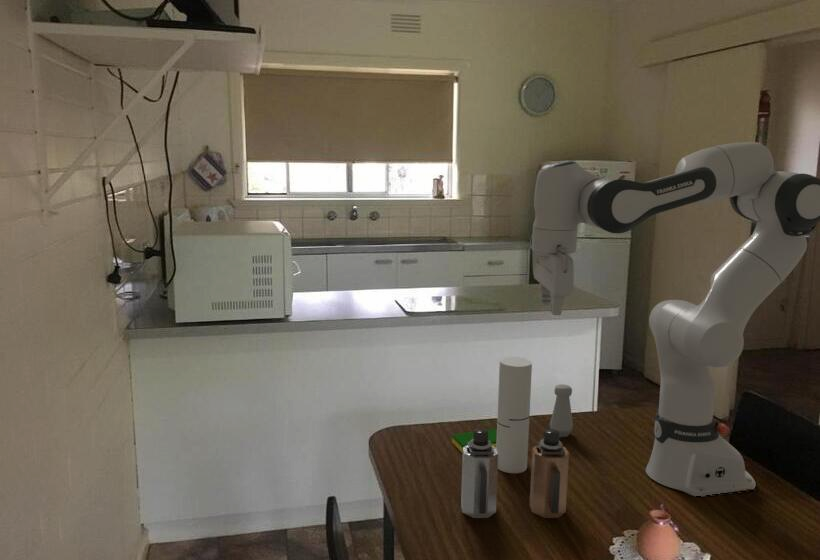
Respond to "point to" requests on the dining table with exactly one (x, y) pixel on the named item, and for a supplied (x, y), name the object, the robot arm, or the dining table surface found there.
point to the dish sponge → (464, 438)
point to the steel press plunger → (480, 440)
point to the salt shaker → (562, 411)
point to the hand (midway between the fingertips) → (550, 309)
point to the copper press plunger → (551, 440)
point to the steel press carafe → (479, 482)
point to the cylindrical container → (513, 414)
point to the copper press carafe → (549, 481)
